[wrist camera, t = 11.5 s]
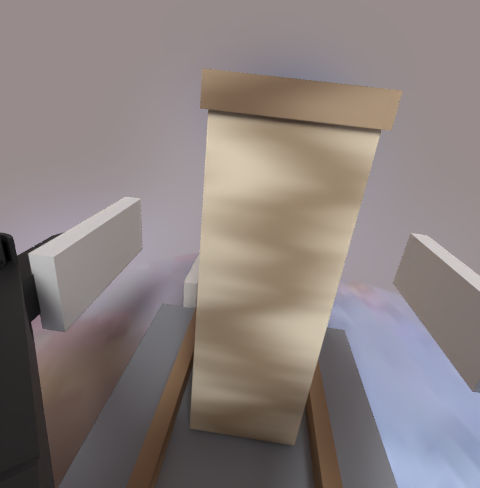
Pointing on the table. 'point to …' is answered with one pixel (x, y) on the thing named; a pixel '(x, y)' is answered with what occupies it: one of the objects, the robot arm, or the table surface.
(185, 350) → the lane rails
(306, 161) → the tan tall block
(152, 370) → the platform
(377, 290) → the table surface
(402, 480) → the table surface
